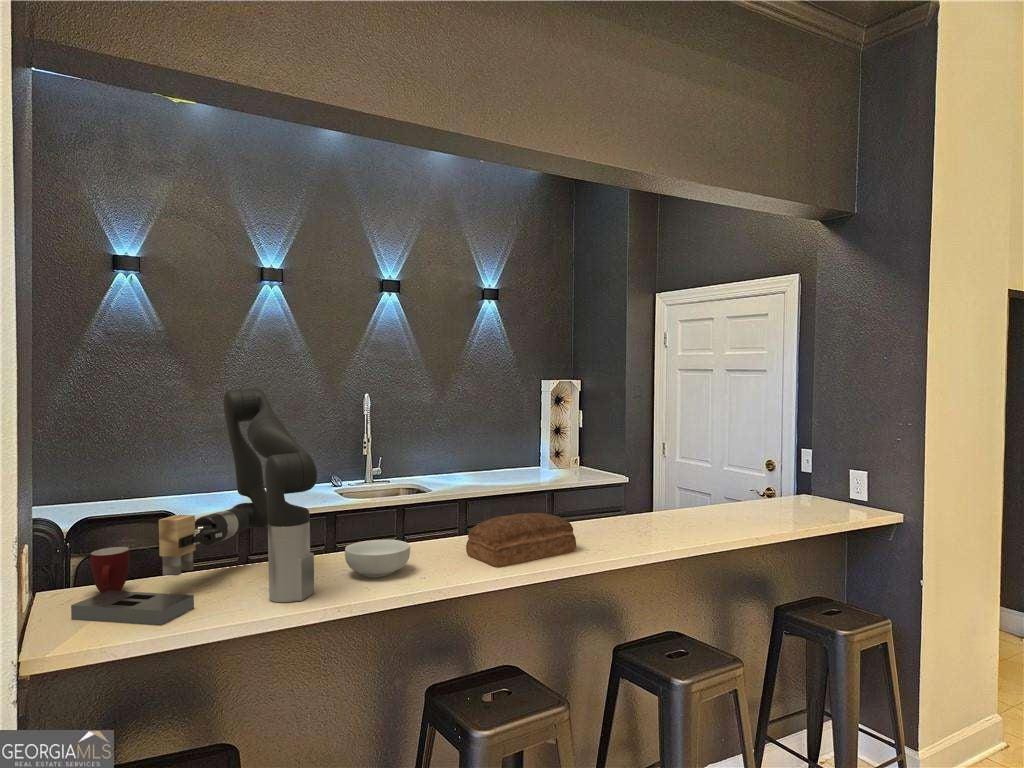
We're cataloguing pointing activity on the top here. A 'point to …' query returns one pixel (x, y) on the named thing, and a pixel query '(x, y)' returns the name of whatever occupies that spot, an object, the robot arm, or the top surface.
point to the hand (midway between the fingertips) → (169, 543)
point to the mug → (110, 568)
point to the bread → (520, 538)
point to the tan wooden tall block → (176, 543)
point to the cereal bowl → (377, 557)
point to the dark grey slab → (132, 607)
